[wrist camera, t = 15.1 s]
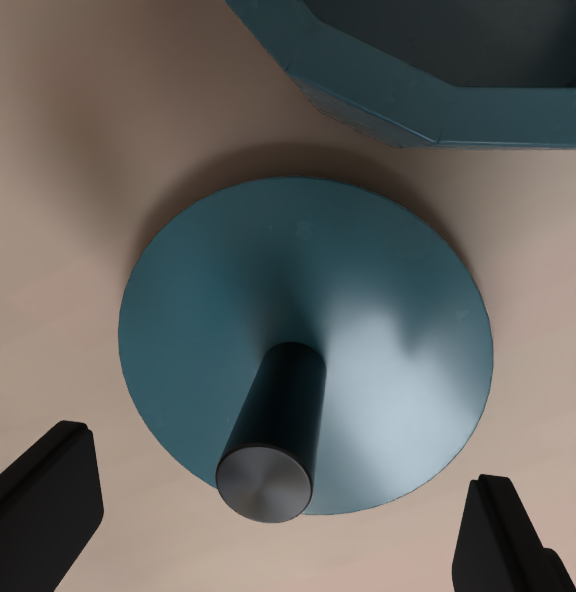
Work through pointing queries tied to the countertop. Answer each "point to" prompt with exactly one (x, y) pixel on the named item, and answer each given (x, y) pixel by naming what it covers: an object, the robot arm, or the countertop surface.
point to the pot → (430, 67)
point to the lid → (305, 346)
